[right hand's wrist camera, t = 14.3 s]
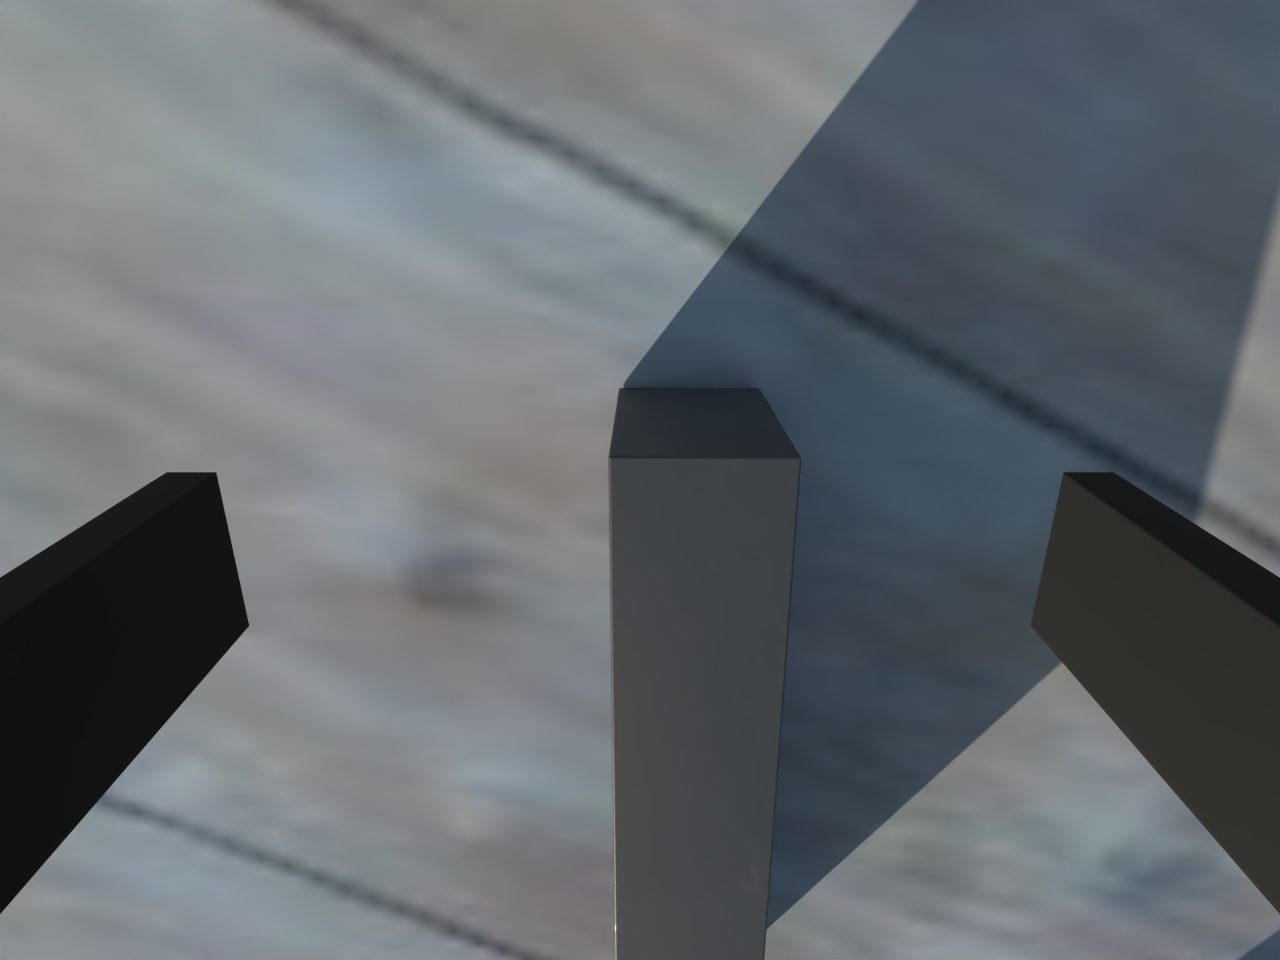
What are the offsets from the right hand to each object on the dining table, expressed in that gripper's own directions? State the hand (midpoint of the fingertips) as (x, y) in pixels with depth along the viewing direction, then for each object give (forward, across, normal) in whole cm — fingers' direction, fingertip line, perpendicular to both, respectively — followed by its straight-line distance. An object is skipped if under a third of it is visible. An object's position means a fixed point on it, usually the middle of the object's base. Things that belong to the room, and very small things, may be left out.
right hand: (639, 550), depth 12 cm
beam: (+15, +2, -16) cm, 22 cm away
